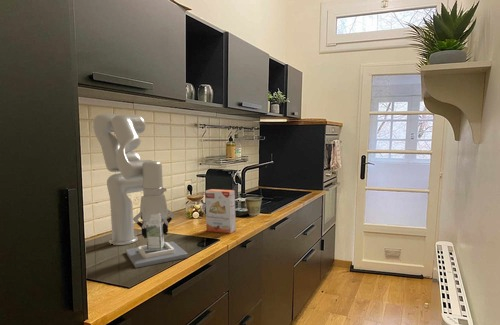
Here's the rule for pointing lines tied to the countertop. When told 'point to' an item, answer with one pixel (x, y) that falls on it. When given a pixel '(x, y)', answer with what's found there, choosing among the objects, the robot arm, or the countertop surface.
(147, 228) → the syrup box
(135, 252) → the base board
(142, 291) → the countertop surface
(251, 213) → the ceramic cup
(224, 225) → the cracker box
